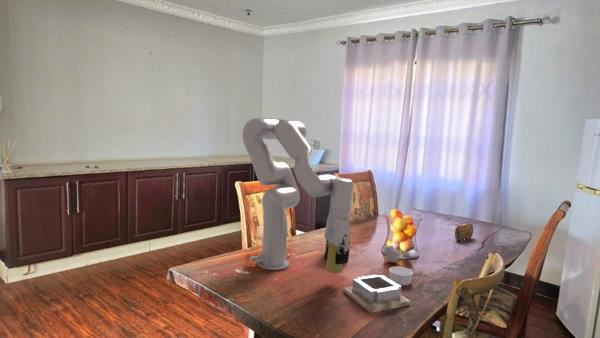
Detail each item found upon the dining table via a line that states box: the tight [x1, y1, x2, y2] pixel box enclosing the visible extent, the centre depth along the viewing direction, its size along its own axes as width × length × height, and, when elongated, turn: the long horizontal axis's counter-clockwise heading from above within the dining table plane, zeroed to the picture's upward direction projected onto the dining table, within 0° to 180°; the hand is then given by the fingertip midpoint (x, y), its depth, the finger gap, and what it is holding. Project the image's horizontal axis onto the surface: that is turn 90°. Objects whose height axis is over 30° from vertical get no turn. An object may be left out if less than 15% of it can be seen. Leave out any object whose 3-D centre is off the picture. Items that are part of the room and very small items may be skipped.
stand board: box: [342, 285, 411, 314], centre depth 134 cm, size 16×16×2 cm
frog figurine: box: [383, 245, 400, 263], centre depth 169 cm, size 6×7×7 cm
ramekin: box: [388, 266, 414, 286], centre depth 149 cm, size 9×9×4 cm
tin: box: [454, 222, 474, 242], centre depth 210 cm, size 15×3×8 cm, turn 129°
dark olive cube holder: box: [323, 234, 351, 263], centre depth 171 cm, size 10×10×10 cm
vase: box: [325, 242, 343, 274], centre depth 143 cm, size 6×6×14 cm
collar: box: [352, 274, 402, 304], centre depth 133 cm, size 12×12×4 cm
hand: (334, 260), depth 143 cm, fingers closed on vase, 5 cm apart
